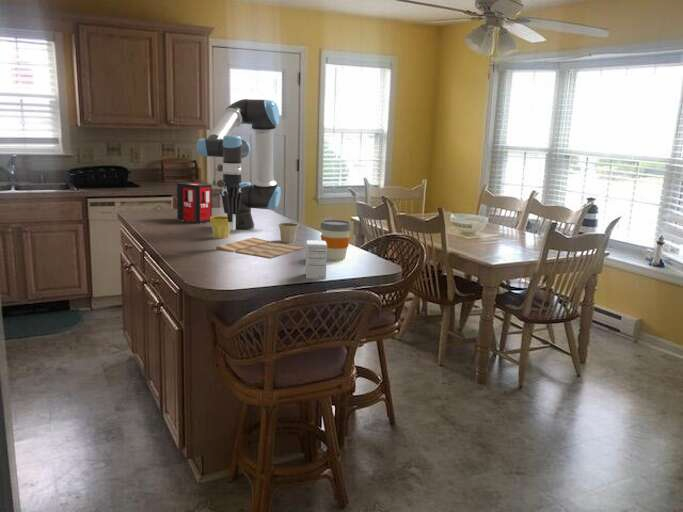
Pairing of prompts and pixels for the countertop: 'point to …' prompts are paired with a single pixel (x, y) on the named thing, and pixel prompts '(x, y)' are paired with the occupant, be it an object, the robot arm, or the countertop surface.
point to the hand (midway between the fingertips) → (231, 229)
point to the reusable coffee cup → (336, 238)
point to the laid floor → (270, 250)
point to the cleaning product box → (194, 202)
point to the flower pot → (288, 232)
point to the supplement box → (316, 259)
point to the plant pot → (219, 226)
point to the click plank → (241, 244)
